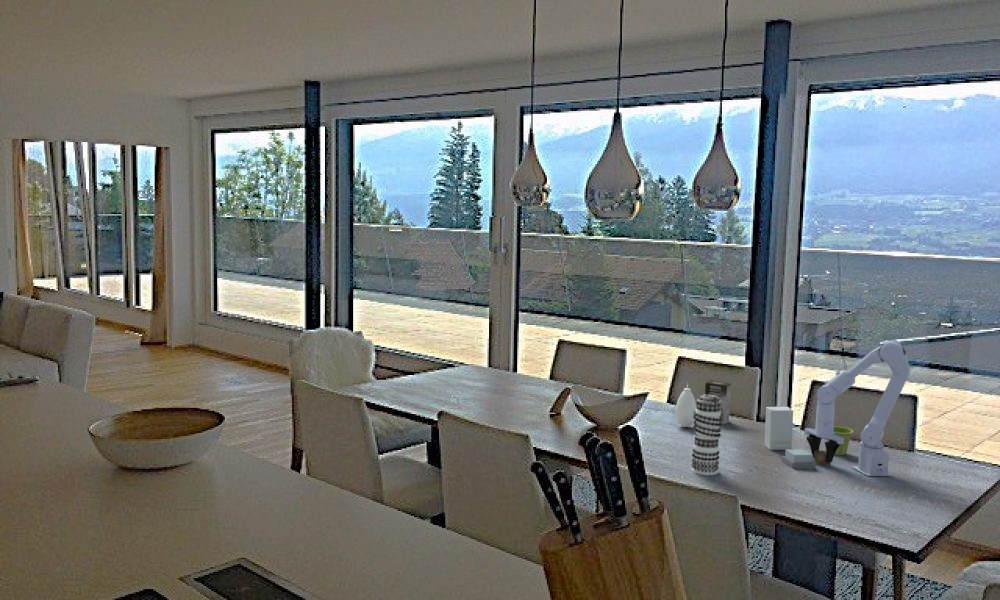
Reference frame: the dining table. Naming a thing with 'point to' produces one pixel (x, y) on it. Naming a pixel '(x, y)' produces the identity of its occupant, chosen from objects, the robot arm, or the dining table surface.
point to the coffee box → (720, 396)
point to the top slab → (799, 455)
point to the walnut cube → (820, 458)
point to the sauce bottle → (686, 408)
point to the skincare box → (778, 428)
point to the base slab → (797, 464)
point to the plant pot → (844, 434)
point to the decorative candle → (706, 435)
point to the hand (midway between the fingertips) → (822, 459)
